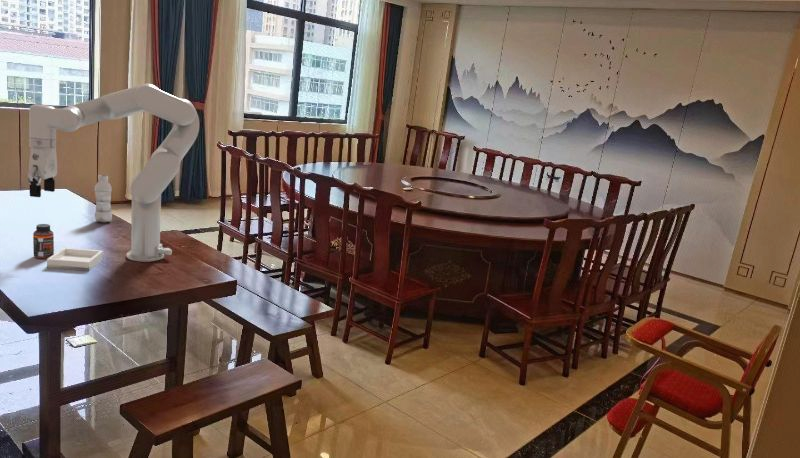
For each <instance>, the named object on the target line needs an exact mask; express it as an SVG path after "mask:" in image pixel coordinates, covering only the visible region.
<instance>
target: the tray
mask: <svg viewBox="0 0 800 458" xmlns="http://www.w3.org/2000/svg"><path fill="white" fill-rule="evenodd" d="M104 255H105V253H104V250H98V249H85V248H71V247H63V248H61V249H60V250H58V251H56V253H55V252H54V255H52V256H51V257H49V258H48V259H46V268H47V269H59V270H72V271H84V270H85V271H87V272H89V271H91V270H93V268H94V267H96V266H97V265H99V263H101V262H102V261H103V260H104Z"/></svg>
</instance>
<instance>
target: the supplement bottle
mask: <svg viewBox="0 0 800 458" xmlns="http://www.w3.org/2000/svg"><path fill="white" fill-rule="evenodd" d="M35 229H36V230H35V231H33V233H32V236H33V237H32V239H33V242H32V243H33V247H32V248H33V257H34V258H35V259H38V260H47V259H48V258H49V257H51V256H52V255H54V254H55V249H54V248H55V247H54V246H55V245H54V244H55V241H54V231H52V230H51V225H50V224H49V223H48V224H47V223H38V224H36V228H35Z"/></svg>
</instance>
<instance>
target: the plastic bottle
mask: <svg viewBox="0 0 800 458" xmlns="http://www.w3.org/2000/svg"><path fill="white" fill-rule="evenodd" d="M97 180H98V181H97V182H96V184H95V186H94V195H95V203H96V204H95V212H94V219H95V221H96V222H98V223H109V222H111V221H112V219H113V212H112V209H111V208H112V207H111V197H112V190H113V188H112V185H111V184H110V183H109V182H108V181H109V175H106V174H98V176H97Z"/></svg>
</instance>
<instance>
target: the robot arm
mask: <svg viewBox="0 0 800 458" xmlns="http://www.w3.org/2000/svg"><path fill="white" fill-rule="evenodd" d="M28 111H29V116H28V118H29V119H28V120H29V121H28V122H29V123H28V124H29V125H28V126H29V127H28V129H29V130H28V131H29V132H28V133H29V134H28V136H29V137H28V138H29V140H28V141H29V144H28V145H29V148H30V152H29V161H28V162H29V163H28V172H27V177H28V179H27V181H28V184H29V197H32V198H41V197H42V185H41V182H42V179H43V191H45V192H52V193H54V192H55V190H56V187H55V186H56V185H55V183H56V182H55V180H56V176H57V175H58V154H57V131H63V132H69V133H70V132H75V131H77V130H78V129H80V128H82V127H85V126H88V125H91V124H94V123H98V122H103V121H109V120H119V119H123V118H126V117H130V116H133V115H137V114H139V113H144V112H148V113H149V114H151V115H153V116H156V117H158V118H160V119H162V120H166V121H168V122H169V123H172V124H173V126H172V127H171V128H172V129H171V130H170V132H169V133H168V134H167V136H166V137H165V139H164V140H163V141H162V142H161V144H160V145H159V146H158V147H157V148H156V150H155V151H153V152H152V153H151V155H150V159H149V160H148V161H147V163H146V164H144V166H143V168H142V169H141V170H140V171H138V172H137V173H136V174H134V175H133V177H132V179H131V182H130V186H129V189H130V190H129V191H130V195H131V219H130V220H131V225H130V228H131V230H130V231H131V234H130V235H131V236H130V238H131V240H130V242H131V243H130V246H131V247H130V249H131V250H129V251H127V253H126V255H125V256H126V258H127V259H128V260H130V261H133V262H143V263H147V262H148V263H149V262H151V263H152V262H155V261H161V260H162V259H164V257H165V255H167V256H171V255H172V253H173V250H172V249H171V248H170V247H164V246H163V243H161V214H162V213H161V210H162V209H161V208H162V206H161V205H162V193H163V192H164V191H165V190H166V189H167V187H168V186H169V185H170V183H171V182H172V180H173V179H174V178H175V177H176V176H177V174H178V172H179V169H180V165H181V162H182V160H183V159H184V157H185V156H186V154H187V153H188V152H189V150H190V149H191V148H192V146H193V144H194V143H195V142H196V140H197V137H198V135H199V132H200V117H199V115H198V112H197V110H196V107H195V106H194V104H193V103H192V102H191V101H190V100H188V99H186V98H179V97H177V96H174V95H172V94H170V93H168V92H165V91H163V90H161V89H159V87H158V86H156V85H154V84H152V83H143V84H139V85H136V86H132V87H129V88H126V89H121V90H119V91H114V92H111V93H107V94H104V95H102V96H100V97H96V98H94V99H91V100H87V101H83V102H80V103H79V102H78V103H76V104H72V105H68V106H66V107H63V108H56V107H54V106H51V105H48V104H47V105H46V104H39V103H38V104H32V105H30V106H29V110H28Z"/></svg>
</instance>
